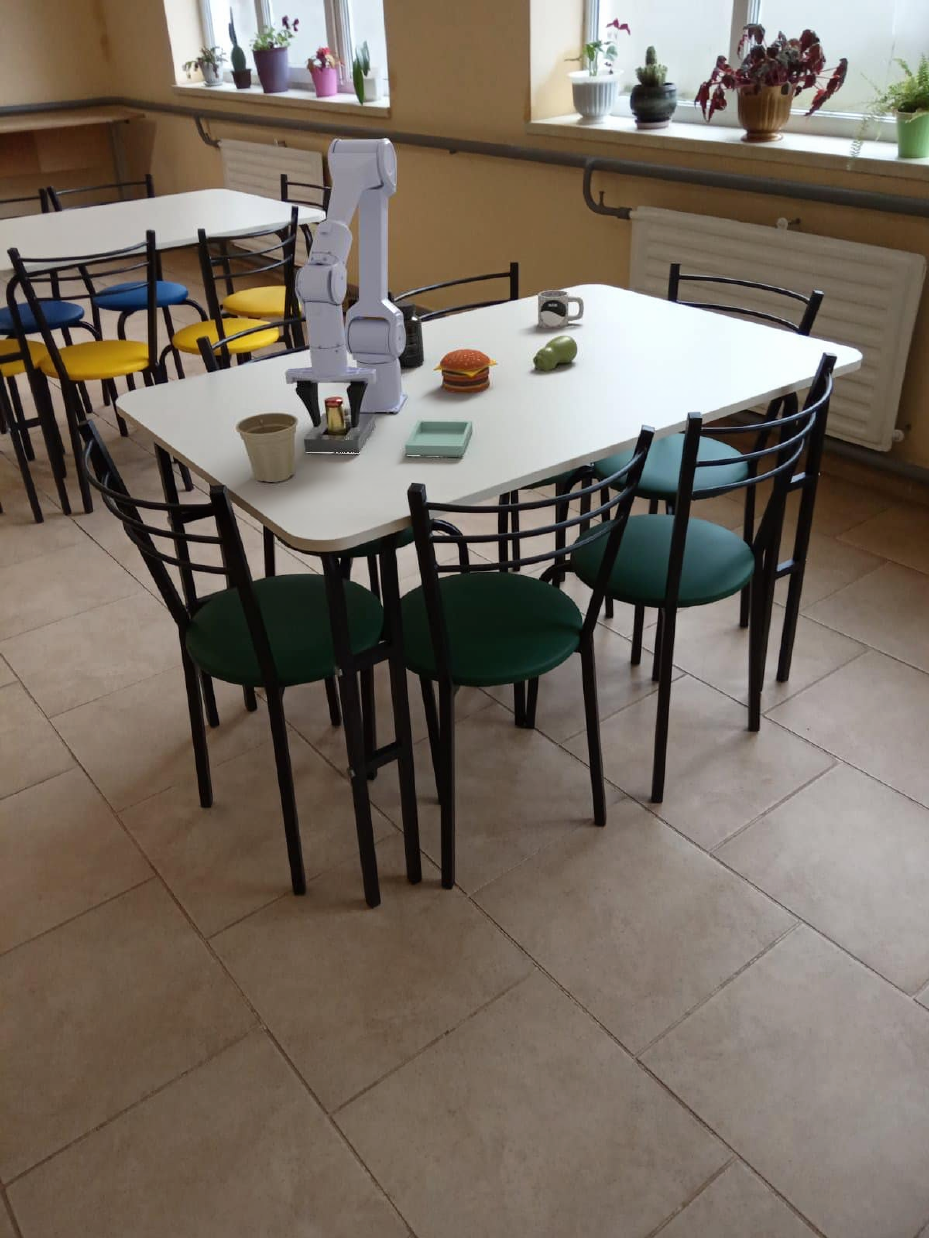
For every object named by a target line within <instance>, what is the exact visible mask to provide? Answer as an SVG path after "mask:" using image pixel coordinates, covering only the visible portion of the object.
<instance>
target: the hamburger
mask: <svg viewBox="0 0 929 1238" xmlns="http://www.w3.org/2000/svg"><path fill="white" fill-rule="evenodd" d="M496 365H497V366H498V362H496V361H494V360H493V359H490V357H489V356H488V355H486V354H485V353H483V352H482V351H480V350H477V349H469V348H466V349H465V348H463V349H458V350H454V351H450V352H448V353H446V354H445V355H444V357H443V358H442V359H441V361H440V362H439V365H438V366H436V367H435V368H434V369H433V371H434V372H435V371H439V370H441V376H442V384H441V386H442V388H443V389H444V390H446V391H447V390H448V392H451V393H459V394H465V393H466V394H471V393H476V391H477V392H481V391H483V390H486V389H487V388H488V387H489V386H490V384H491V383H490V381H491V380H490V376H489V375H490V367H491V366H496ZM480 390H481V391H480Z"/></svg>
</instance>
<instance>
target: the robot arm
mask: <svg viewBox="0 0 929 1238" xmlns="http://www.w3.org/2000/svg"><path fill="white" fill-rule="evenodd" d="M397 163H398V158H397V153H396V152H395V147H394V145H393V143H392V142H391V141H390V139H389V138H381V139H375V138H374V139H371V138H370V139H341V138H335V139H333V140H332V141H331V144H330V145H329V147H328V152H327V164H328V169H329V173H330V177H331V180H332V186H331V191H330V192H331V193H330V198H329V201H328V202H329V203H328V209H327V212H326V213H327V215H326V220H324V221H322V222H319V224H318V225H317V227H316V230H315V233H314V237H313V241H312V243H311V247H310V250H309V256H308V258H307V262H306V264H304V265H303V266H302V267H300V268H298V270H297V273H296V275H295V287H294V291H295V296H296V298H297V300H298V302H299V304H300V310H301V313H302V315H303V316H305V320H306V321H305V322H306V329H307V336H308V337H307V338H308V344H309V345H308V346H309V355H310V362H311V366H308V367H307V366H306V367H296V368H288V369H287V370H286V371H284V372H285V373H284V374H285V383H286V385H293V384H294V383H295V384H296V387H295V389H294V390H295V393H296V395H297V396H298V397H299V399H300V400H301V402H302V403H303V405H304V407H305V409H306V410H307V413H308V415H309V417H310V419H311V422H312V427H313V426H314V427H318V426H319V425H320V424H321V416H322V414H321V411H320V403H319V384H320V383H322V384H324V383H325V384H349V385H348V386H347V388H345V389H346V395H347V399H348V403H349V408H350V411H351V425H352V428H357V426H358V424H359V415H360V414H361V413H375V412H387V413H388V414H390V413H389V412H394V413H393V414H395V413H396V412H397V413H399V411H400V410H401V408H402V406H403V404H404V403H405V401H406V400H407V397H408V396H409V395H408V393H407V392H403V385H402V384H403V383H402V373H401V372H402V370H401V368H400V362H399V359H398V358H397V357H399V356H400V355H401V353H402V352H403V351H404V348H405V343H406V333H405V328H404V321H403V313H402V312H401V311H400V310H399V309H398V308H397V307H396V306H394V305H393V304H392V303H393V302H391V301H390V300H389V298H388V297H389V296H388V294H389V292H388V290H389V289H388V287H389V286H388V279H389V278H388V274H389V273H388V272H389V270H388V269H389V268H388V267H389V265H388V264H389V261H388V260H389V256H388V254H389V251H388V249H389V246H388V245H389V244H388V243H389V239H388V238H389V237H388V236H389V233H388V231H389V230H388V229H389V228H388V227H389V197H391V196H392V195H394V194H396V192H397V181H398V180H397V179H398V178H397V177H398V176H397V175H398V173H397V172H398V171H397V170H398V164H397ZM357 205H358V301H356V302H355V304H354V305H352V306H351V307H350V308H349V309H348V310H347V311H346V315H345V323H344V315H343V305H342V303H343V301H344V299H345V297H346V294H347V286H348V285H347V276H348V270H347V268H346V266H347V262H348V257H349V254H350V250H351V246H352V243H353V238H354V237H353V234H352V232H351V230H350V229H349V227H350V225H351V222H352V218H353V216H354V213H355V211H356V208H357ZM363 317H367V318H363ZM369 318H370V319H369ZM371 318H372V319H371ZM373 318H383V319H373ZM347 353H348V354H349V355H352V357H351V358H352V360H353V361H356V366H349V365H348V355H347Z"/></svg>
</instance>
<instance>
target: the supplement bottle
mask: <svg viewBox="0 0 929 1238" xmlns="http://www.w3.org/2000/svg"><path fill="white" fill-rule="evenodd" d="M391 303H392V304H393V305H394V306H396V307H397V308H398V309H399V310H400V311H401V312H402V313H403V321H404V328H405V333H406V343H405V348H404V351H403V352H402V353H401V355H400V356H399V357H397V358H398V359H399V362H400V369H411V368H415V367H419V366H421V365H423V364H424V362H425V354H424V353H425V352H424V341H423V340H424V339H423V328H422V319H421V318H420V317H419V316H418V315H416V303H415V302H414V301H411V300H399V301H394V302H391Z"/></svg>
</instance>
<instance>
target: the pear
mask: <svg viewBox="0 0 929 1238" xmlns="http://www.w3.org/2000/svg"><path fill="white" fill-rule="evenodd" d="M577 355H578V345H577V342H576V341H575V339H574V338H573V337H571V336H569V335H559V336H556V337H554V338H553V339H550V340H549V341H548V342H547V343H546V345H544V347H542V348H540V349H539V350H538V351H537V353H535V356H534V357H533V358H532V362H533V364H534V367H535V368H537V369H538V370H540V371H544V372H549V371H553V370H555V368H556V366H557V364H568V363H570V362H572V361H574V360H575V358H576V356H577Z"/></svg>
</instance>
